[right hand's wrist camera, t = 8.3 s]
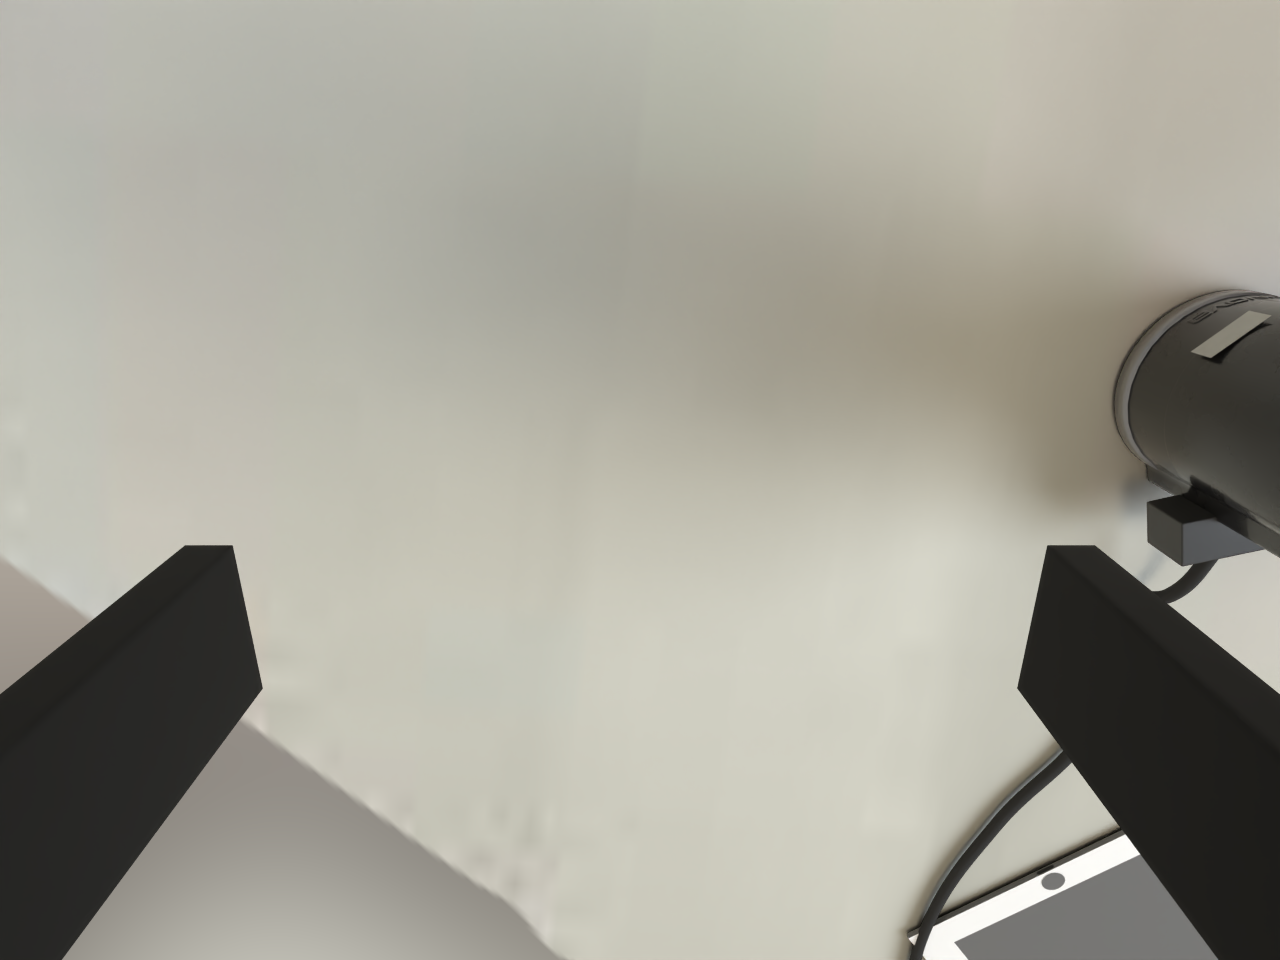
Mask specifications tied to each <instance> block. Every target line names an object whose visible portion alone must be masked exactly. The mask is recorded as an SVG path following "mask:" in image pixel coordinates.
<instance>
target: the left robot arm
mask: <svg viewBox="0 0 1280 960" xmlns="http://www.w3.org/2000/svg"><path fill="white" fill-rule="evenodd" d="M1115 418H1116V423H1117V427H1118V430H1119V433H1120V435H1121V437H1122V439H1123V441H1124V442H1125V444H1126V446H1127V447H1128V448H1129V449H1130V451H1131V452H1132V453H1133V454H1134V455H1135V456H1136V457H1137V458H1139V459H1140V460H1141V461H1143V462H1144V463H1146V464H1147V469H1148V480H1149V481H1150V482H1152V483H1154V484H1155V485H1157V486H1159V487H1160V488H1162V489H1164V490H1165V491H1167V492H1169V493H1171V494H1172V495H1174V496H1171V497H1167V498H1162V499H1157V500H1153V501H1148V502H1147V537H1148V543H1150V544H1151V545H1152V546H1154V547H1155V548H1157V549H1158V550H1159V551H1161V552H1162V553H1164V554H1165V555H1166V556H1168V557H1169V558H1171V559H1172V560H1174V561H1175V562H1176V563H1178V564H1179V565H1181V566H1187V565H1192V564H1193V565H1192V567H1191V568H1190V569H1189V570H1188V572H1187V573H1186V574H1185V575H1184V576H1183V577H1182V578H1181V579H1180V580H1179V581H1177V582H1176V583H1175V584H1173V585H1172V586H1170V587H1168V588H1167V589H1165V590H1162V591H1152V592H1153V593H1155V594H1156V595H1157V596H1158V597H1160V598H1161V599H1162V600H1163V601H1165V602H1166V603H1171V602H1174V601H1176V600H1178V599H1180V598H1182V597H1183V596H1185V595H1186V594H1188V593H1189V592H1190V591H1192V590H1193V589H1194V588H1195V587H1196V586H1197V585H1198V584H1199V583H1200V582H1201V581H1202V580H1203V579H1204V577H1205V576H1206V575H1207V574H1208V572H1209V571H1210V570H1211V568H1212V567H1213V566H1214V564H1215V563H1216V562H1217V560H1218V559H1221V558H1226V557H1230V556H1235V555H1240V554H1245V553H1249V552H1254V551H1259V550H1264V549H1266V550H1267V551H1269V552H1271V553H1272V554H1274V555H1276V556H1278V557H1279V558H1280V297H1277V296H1274V295H1269V294H1264V293H1259V292H1253V291H1245V290H1229V291H1220V292H1215V293H1211V294H1207V295H1204V296H1201V297H1198V298H1196V299H1193V300H1191V301H1189V302H1187V303H1184V304H1182V305H1181V306H1179V307H1177V308H1176V309H1174V310H1172V311H1171V312H1169V313H1168V314H1166V315H1165V316H1164V317H1163V318H1161V319H1160V320H1159V321H1158V322H1156V323H1155V324H1154V325H1153V326H1152V327H1151V328H1150V329H1149V330H1148V331H1147V332H1146V333H1145V334H1144V335H1143V337H1142V338H1141V339H1140V340H1139V342H1138V343H1137V344H1136V345H1135V347H1134V348H1133V350H1132V352H1131V353H1130V355H1129V357H1128V358H1127V360H1126V362H1125V364H1124V366H1123V369H1122V371H1121V374H1120V377H1119V380H1118V383H1117V388H1116V394H1115ZM1071 763H1072V762H1071V760H1070V759H1069V758H1068V756H1067V755H1066V753H1065V752H1064V751H1063V752H1062V753H1061V754H1060V755H1059V756H1058V757H1057V758H1056V759H1055V760H1054V761H1053V762H1052V763H1051V764H1049V765H1048V766H1047V767H1046V768H1045V769H1044V770H1043V771H1042V772H1040V773H1039V774H1038V775H1037V776H1036V777H1035V778H1034V779H1032V780H1031V781H1030V782H1029V783H1028V784H1027V785H1026V786H1024V787H1023V788H1022V789H1021V790H1020V791H1019V792H1018V793H1017V794H1016V795H1015V796H1014V797H1013V798H1011V799H1010V800H1009V801H1008V802H1007V803H1006V805H1005V806H1004V807H1003V808H1002V809H1001V810H1000V811H999V812H998V813H997V814H996V815H995V817H994V818H993V819H992V820H991V821H990V823H989V824H988V825H987V826H986V827H985V829H984V830H983V831H982V832H981V833H980V835H979V836H978V837H977V838H976V839H975V841H974V842H973V843H972V844H971V845H970V847H969V848H968V849H967V850H966V852H965V853H964V854H963V855H962V857H961V858H960V859H959V860H958V862H957V863H956V864H955V866H954V867H953V869H952V870H951V871H950V873H949V874H948V876H947V877H946V879H945V880H944V882H943V883H942V885H941V887H940V888H939V890H938V892H937V893H936V895H935V897H934V899H933V901H932V903H931V905H930V907H929V909H928V911H927V913H926V915H925V917H924V919H923V921H922V924H921V926H920V928H919V931H918V932H919V934H918V937H917V940H916V942H915V946H914V945H913V948H912V952H911V956H910V960H922V956H923V952H924V949H925V946H926V943H927V941H928V938H929V936H930V933H931V931H932V928H933V926H934V924H935V922H936V920H937V918H938V916H939V914H940V912H941V910H942V908H943V906H944V904H945V903H946V901H947V899H948V897H949V896H950V894H951V893H952V891H953V890H954V888H955V886H956V885H957V884H958V882H959V881H960V879H961V878H962V877H963V875H964V874H965V873H966V871H967V870H968V869H969V867H970V866H971V865H972V864H973V862H974V861H975V860H976V859H977V858H978V856H979V855H980V854H981V853H982V852H983V850H984V849H985V848H986V847H987V846H988V844H989V843H990V842H991V841H992V840H993V839H994V837H995V836H996V835H997V834H998V833H999V831H1000V830H1001V829H1002V828H1003V827H1004V826H1005V824H1006V823H1007V822H1008V821H1009V820H1010V819H1011V818H1012V817H1013V816H1014V815H1015V814H1016V813H1017V812H1018V811H1019V810H1020V809H1021V808H1022V807H1023V806H1024V805H1025V804H1026V803H1027V802H1028V801H1029V800H1030V799H1032V798H1033V797H1034V796H1035V795H1036V794H1037V793H1038V792H1040V791H1041V790H1042V789H1043V788H1044V787H1045V786H1047V785H1048V784H1049V783H1050V782H1051V781H1052V780H1053V779H1055V778H1056V777H1057V776H1058V775H1059V774H1060V773H1061V772H1062V771H1063V770H1064V769H1066V768H1067V767H1068V766H1069V765H1070V764H1071Z"/></svg>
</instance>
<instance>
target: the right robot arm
mask: <svg viewBox="0 0 1280 960" xmlns="http://www.w3.org/2000/svg"><path fill="white" fill-rule="evenodd" d="M262 689H263V687H262V683H261V678H260V673H259V668H258V664H257V659H256V654H255V649H254V645H253V640H252V635H251V630H250V626H249V621H248V616H247V611H246V607H245V602H244V597H243V592H242V588H241V583H240V578H239V573H238V569H237V564H236V559H235V554H234V550H233V545H185V546H184V547H183V548H181V549H180V550H179V551H178V552H176V553H175V554H174V555H173V556H171V557H170V558H169V559H168V560H166V561H165V562H164V563H163V564H161V565H160V566H159V567H158V568H156V569H155V570H154V571H153V572H151V573H150V574H149V575H148V576H147V577H145V578H144V579H143V580H142V581H140V582H139V583H138V584H137V585H135V586H134V587H133V588H132V589H130V590H129V591H128V592H127V593H125V594H124V595H123V596H122V597H120V598H119V599H118V600H117V601H115V602H114V603H113V604H112V605H111V606H109V607H108V608H107V609H106V610H104V611H103V612H102V613H101V614H99V615H98V616H97V617H96V618H94V619H93V620H92V621H91V622H89V623H88V624H87V625H86V626H84V627H83V628H82V629H81V630H79V631H78V632H77V633H76V634H75V635H73V636H72V637H71V638H70V639H68V640H67V641H66V642H65V643H63V644H62V645H61V646H60V647H58V648H57V649H56V650H55V651H53V652H52V653H51V654H50V655H48V656H47V657H46V658H45V659H43V660H42V661H41V662H40V663H39V664H37V665H36V666H35V667H34V668H32V669H31V670H30V671H29V672H27V673H26V674H25V675H24V676H22V677H21V678H20V679H19V680H17V681H16V682H15V683H14V684H12V685H11V686H10V687H9V688H8V689H6V690H5V691H4V692H3V693H1V694H0V960H62V959H63V957H64V956H65V955H66V953H67V952H68V951H69V949H70V948H71V946H72V945H73V944H74V943H75V941H76V940H77V938H78V937H79V936H80V934H81V933H82V932H83V930H84V929H85V928H86V926H87V925H88V924H89V922H90V921H91V920H92V918H93V917H94V915H95V914H96V913H97V911H98V910H99V909H100V907H101V906H102V905H103V903H104V902H105V901H106V899H107V898H108V897H109V895H110V894H111V893H112V891H113V890H114V888H115V887H116V886H117V884H118V883H119V882H120V880H121V879H122V878H123V876H124V875H125V874H126V872H127V871H128V870H129V868H130V867H131V866H132V864H133V863H134V861H135V860H136V859H137V857H138V856H139V855H140V853H141V852H142V851H143V849H144V848H145V847H146V845H147V844H148V843H149V841H150V840H151V838H152V837H153V836H154V834H155V833H156V832H157V830H158V829H159V828H160V826H161V825H162V824H163V822H164V821H165V820H166V818H167V817H168V815H169V814H170V813H171V811H172V810H173V809H174V807H175V806H176V805H177V803H178V802H179V801H180V799H181V798H182V797H183V795H184V794H185V793H186V791H187V790H188V789H189V787H190V786H191V785H192V783H193V782H194V780H195V779H196V778H197V776H198V775H199V774H200V772H201V771H202V770H203V768H204V767H205V766H206V764H207V763H208V762H209V760H210V759H211V757H212V756H213V755H214V753H215V752H216V751H217V749H218V748H219V747H220V745H221V744H222V743H223V741H224V740H225V739H226V737H227V736H228V735H229V733H230V732H231V730H232V729H233V728H234V726H235V725H236V724H237V722H238V721H239V720H240V718H241V717H242V716H243V714H244V713H245V712H246V710H247V709H248V708H249V706H250V705H251V704H252V702H253V701H254V699H255V698H256V697H257V695H258V694H259V693H260V691H261V690H262ZM1017 689H1018V690H1019V691H1020V693H1021V694H1022V695H1023V697H1024V698H1025V699H1026V701H1027V702H1028V704H1029V705H1030V706H1031V708H1032V709H1033V710H1034V712H1035V713H1036V714H1037V716H1038V717H1039V718H1040V720H1041V721H1042V722H1043V724H1044V725H1045V726H1046V728H1047V729H1048V731H1049V732H1050V733H1051V735H1052V736H1053V737H1054V739H1055V740H1056V741H1057V743H1058V744H1059V745H1060V747H1061V748H1062V749H1063V751H1064V752H1065V753H1066V755H1067V756H1068V758H1069V759H1070V760H1071V762H1072V763H1073V764H1074V766H1075V767H1076V768H1077V770H1078V771H1079V772H1080V774H1081V775H1082V776H1083V778H1084V779H1085V780H1086V782H1087V783H1088V785H1089V786H1090V787H1091V789H1092V790H1093V791H1094V793H1095V794H1096V795H1097V797H1098V798H1099V799H1100V801H1101V802H1102V803H1103V805H1104V806H1105V807H1106V809H1107V810H1108V812H1109V813H1110V814H1111V816H1112V817H1113V818H1114V820H1115V821H1116V822H1117V824H1118V825H1119V826H1120V828H1121V829H1122V830H1123V832H1124V833H1125V835H1126V836H1127V837H1128V839H1129V840H1130V841H1131V843H1132V844H1133V845H1134V847H1135V848H1136V849H1137V851H1138V852H1139V853H1140V855H1141V856H1142V857H1143V859H1144V860H1145V862H1146V863H1147V864H1148V866H1149V867H1150V868H1151V870H1152V871H1153V872H1154V874H1155V875H1156V876H1157V878H1158V879H1159V880H1160V882H1161V883H1162V884H1163V886H1164V887H1165V889H1166V890H1167V891H1168V893H1169V894H1170V895H1171V897H1172V898H1173V899H1174V901H1175V902H1176V903H1177V905H1178V906H1179V907H1180V909H1181V910H1182V911H1183V913H1184V914H1185V916H1186V917H1187V918H1188V920H1189V921H1190V922H1191V924H1192V925H1193V926H1194V928H1195V929H1196V930H1197V932H1198V933H1199V934H1200V936H1201V937H1202V938H1203V940H1204V941H1205V943H1206V944H1207V945H1208V947H1209V948H1210V949H1211V951H1212V952H1213V953H1214V955H1215V956H1216V957H1217V959H1218V960H1280V694H1279V693H1277V692H1276V691H1275V690H1274V689H1273V688H1271V687H1270V686H1269V685H1268V684H1266V683H1265V682H1264V681H1263V680H1261V679H1260V678H1259V677H1258V676H1256V675H1255V674H1254V673H1253V672H1251V671H1250V670H1249V669H1248V668H1246V667H1245V666H1244V665H1243V664H1241V663H1240V662H1239V661H1238V660H1237V659H1235V658H1234V657H1233V656H1232V655H1230V654H1229V653H1228V652H1227V651H1225V650H1224V649H1223V648H1222V647H1220V646H1219V645H1218V644H1217V643H1215V642H1214V641H1213V640H1212V639H1210V638H1209V637H1208V636H1207V635H1205V634H1204V633H1203V632H1202V631H1201V630H1199V629H1198V628H1197V627H1196V626H1194V625H1193V624H1192V623H1191V622H1189V621H1188V620H1187V619H1186V618H1184V617H1183V616H1182V615H1181V614H1179V613H1178V612H1177V611H1176V610H1174V609H1173V608H1172V607H1171V606H1169V605H1168V604H1167V603H1166V602H1165V601H1163V600H1162V599H1161V598H1160V597H1158V596H1157V595H1156V594H1155V593H1153V592H1152V591H1151V590H1150V589H1148V588H1147V587H1146V586H1145V585H1143V584H1142V583H1141V582H1140V581H1138V580H1137V579H1136V578H1135V577H1133V576H1132V575H1131V574H1130V573H1129V572H1127V571H1126V570H1125V569H1124V568H1122V567H1121V566H1120V565H1119V564H1117V563H1116V562H1115V561H1114V560H1112V559H1111V558H1110V557H1109V556H1107V555H1106V554H1105V553H1104V552H1102V551H1101V550H1100V549H1099V548H1097V547H1096V546H1095V545H1047V550H1046V554H1045V559H1044V564H1043V569H1042V573H1041V578H1040V583H1039V588H1038V592H1037V597H1036V602H1035V607H1034V611H1033V616H1032V621H1031V626H1030V630H1029V635H1028V640H1027V645H1026V649H1025V654H1024V659H1023V664H1022V668H1021V673H1020V678H1019V683H1018V687H1017Z"/></svg>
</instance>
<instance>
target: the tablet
mask: <svg viewBox="0 0 1280 960" xmlns="http://www.w3.org/2000/svg"><path fill="white" fill-rule="evenodd" d="M919 928H920V927H919ZM919 928H917V929H915V930H913V931H911V932H909V933H907V936H908V938H909V940H910V941H911V942H912V943H913V944H914V946H915V942H916V940H917V937H918V934H919V932H918V931H919ZM923 956H924V958H925V959H926V960H1218V959H1217V957H1216V956H1215V955H1214V953H1213V952H1212V951H1211V949H1210V948H1209V947H1208V945H1207V944H1206V943H1205V941H1204V940H1203V938H1202V937H1201V936H1200V934H1199V933H1198V932H1197V930H1196V929H1195V928H1194V926H1193V925H1192V924H1191V922H1190V921H1189V920H1188V918H1187V917H1186V916H1185V914H1184V913H1183V911H1182V910H1181V909H1180V907H1179V906H1178V905H1177V903H1176V902H1175V901H1174V899H1173V898H1172V897H1171V895H1170V894H1169V893H1168V891H1167V890H1166V889H1165V887H1164V886H1163V884H1162V883H1161V882H1160V880H1159V879H1158V878H1157V876H1156V875H1155V874H1154V872H1153V871H1152V870H1151V868H1150V867H1149V866H1148V864H1147V863H1146V862H1145V860H1144V859H1143V857H1142V856H1141V855H1140V853H1139V852H1138V851H1137V849H1136V848H1135V847H1134V845H1133V844H1132V843H1131V841H1130V840H1129V839H1128V837H1127V836H1126V835H1125V833H1124V832H1123V830H1121V831H1119V832H1117V833H1114V834H1112V835H1110V836H1108V837H1106V838H1104V839H1102V840H1100V841H1098V842H1096V843H1094V844H1092V845H1090V846H1087V847H1085V848H1083V849H1081V850H1079V851H1077V852H1075V853H1073V854H1071V855H1069V856H1067V857H1065V858H1063V859H1060V860H1058V861H1056V862H1054V863H1052V864H1050V865H1048V866H1046V867H1044V868H1042V869H1040V870H1038V871H1036V872H1033V873H1031V874H1029V875H1027V876H1025V877H1023V878H1021V879H1019V880H1017V881H1015V882H1013V883H1011V884H1009V885H1006V886H1004V887H1002V888H1000V889H998V890H996V891H994V892H992V893H990V894H988V895H986V896H984V897H982V898H979V899H977V900H975V901H973V902H971V903H969V904H967V905H965V906H963V907H961V908H959V909H957V910H955V911H952V912H950V913H948V914H946V915H944V916H942V917H940V918H938V919H937V920H936V922H935V924H934V926H933V928H932V931H931V933H930V936H929V938H928V941H927V943H926V946H925V949H924V952H923Z"/></svg>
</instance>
